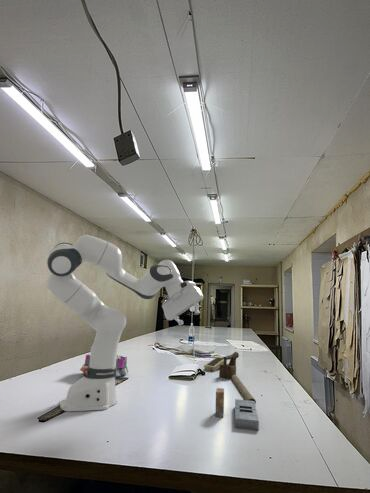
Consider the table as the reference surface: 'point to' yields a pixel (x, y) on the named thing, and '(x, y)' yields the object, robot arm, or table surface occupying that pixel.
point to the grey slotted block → (246, 415)
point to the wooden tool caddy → (228, 366)
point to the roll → (242, 389)
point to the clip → (219, 402)
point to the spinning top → (120, 364)
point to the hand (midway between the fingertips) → (189, 319)
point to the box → (214, 364)
